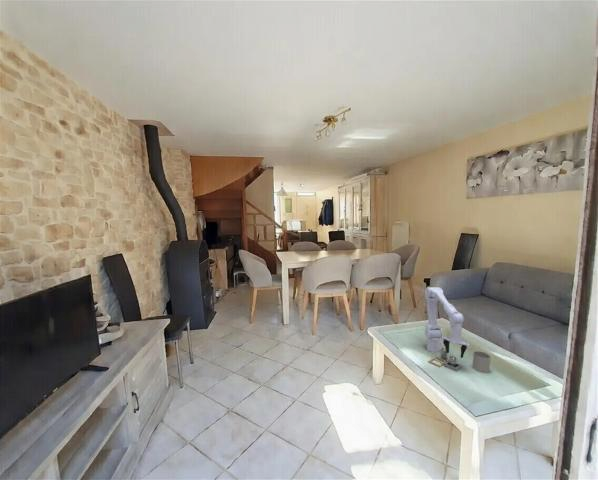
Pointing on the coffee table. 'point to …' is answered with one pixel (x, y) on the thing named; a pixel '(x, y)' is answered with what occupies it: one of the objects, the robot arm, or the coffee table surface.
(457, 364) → the cradle
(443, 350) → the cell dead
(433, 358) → the tray
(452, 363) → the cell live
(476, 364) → the cup
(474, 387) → the coffee table surface
